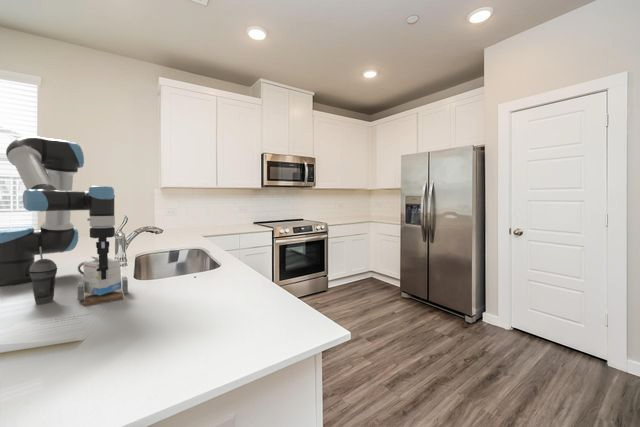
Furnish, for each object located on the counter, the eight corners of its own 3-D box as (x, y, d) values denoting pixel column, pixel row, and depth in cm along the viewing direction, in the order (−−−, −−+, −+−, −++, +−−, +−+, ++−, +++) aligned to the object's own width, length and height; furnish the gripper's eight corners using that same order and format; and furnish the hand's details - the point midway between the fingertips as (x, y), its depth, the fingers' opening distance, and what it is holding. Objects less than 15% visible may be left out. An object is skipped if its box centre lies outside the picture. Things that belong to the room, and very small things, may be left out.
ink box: (122, 289, 108) (121, 255, 108) (98, 295, 100) (98, 259, 100) (107, 286, 111) (106, 253, 110) (83, 292, 103) (82, 257, 103)
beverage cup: (40, 306, 95) (38, 249, 94) (24, 304, 97) (22, 248, 96) (63, 299, 102) (62, 245, 101) (48, 297, 104) (46, 244, 103)
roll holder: (79, 294, 107) (78, 279, 107) (125, 287, 116) (125, 273, 116) (77, 307, 96) (76, 290, 95) (128, 298, 105) (128, 282, 105)
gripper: (90, 224, 111) (91, 277, 113) (88, 230, 93) (90, 294, 94) (113, 223, 116) (114, 275, 117) (116, 229, 98) (117, 290, 99)
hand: (103, 283), depth 106 cm, fingers closed on ink box, 11 cm apart
